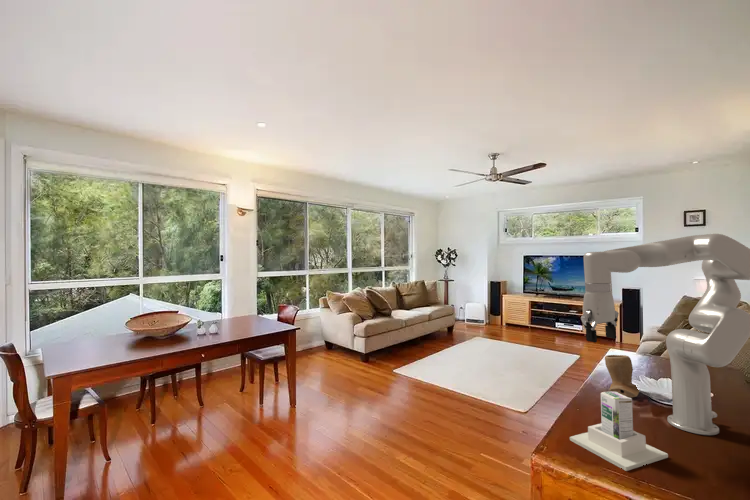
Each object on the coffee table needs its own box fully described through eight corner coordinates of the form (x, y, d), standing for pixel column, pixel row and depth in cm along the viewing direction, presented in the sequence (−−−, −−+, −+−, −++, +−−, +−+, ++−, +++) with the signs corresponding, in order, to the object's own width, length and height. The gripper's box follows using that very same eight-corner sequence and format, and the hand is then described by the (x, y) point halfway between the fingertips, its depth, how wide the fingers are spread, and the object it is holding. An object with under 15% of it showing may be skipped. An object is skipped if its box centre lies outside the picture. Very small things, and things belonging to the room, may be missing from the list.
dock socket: (608, 430, 112) (607, 414, 112) (668, 457, 96) (667, 439, 97) (569, 440, 106) (569, 423, 107) (626, 471, 91) (625, 451, 91)
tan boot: (608, 383, 154) (607, 349, 154) (642, 390, 146) (640, 354, 146) (601, 393, 143) (600, 357, 143) (637, 401, 135) (635, 362, 135)
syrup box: (601, 440, 104) (599, 391, 104) (618, 438, 105) (616, 390, 105) (616, 450, 98) (614, 399, 99) (635, 448, 99) (632, 397, 100)
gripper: (604, 286, 122) (607, 334, 122) (570, 289, 116) (573, 340, 115) (626, 287, 115) (630, 338, 115) (591, 290, 109) (595, 345, 108)
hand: (601, 339), depth 115 cm, fingers open, 9 cm apart
